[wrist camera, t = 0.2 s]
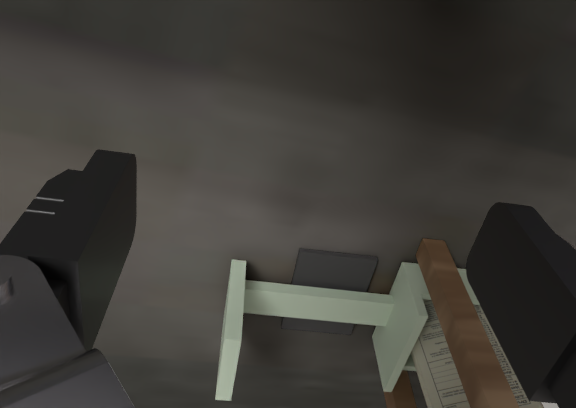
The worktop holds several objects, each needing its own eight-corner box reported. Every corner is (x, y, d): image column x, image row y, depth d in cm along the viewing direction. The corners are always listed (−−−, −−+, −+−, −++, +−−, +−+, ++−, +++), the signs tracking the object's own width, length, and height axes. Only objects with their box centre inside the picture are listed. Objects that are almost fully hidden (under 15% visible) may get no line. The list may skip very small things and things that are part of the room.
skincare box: (402, 330, 40) (446, 489, 30) (394, 294, 37) (439, 453, 27) (483, 313, 39) (556, 471, 29) (480, 274, 36) (558, 432, 27)
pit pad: (299, 248, 34) (299, 251, 34) (376, 256, 35) (377, 260, 35) (281, 324, 39) (281, 328, 39) (349, 330, 40) (350, 335, 39)
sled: (233, 243, 34) (225, 326, 28) (516, 274, 36) (565, 357, 30) (222, 322, 38) (213, 408, 32) (474, 345, 41) (509, 430, 35)
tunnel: (422, 237, 34) (513, 466, 21) (516, 248, 35) (657, 475, 22) (374, 351, 41) (421, 575, 28) (453, 358, 42) (533, 578, 29)
